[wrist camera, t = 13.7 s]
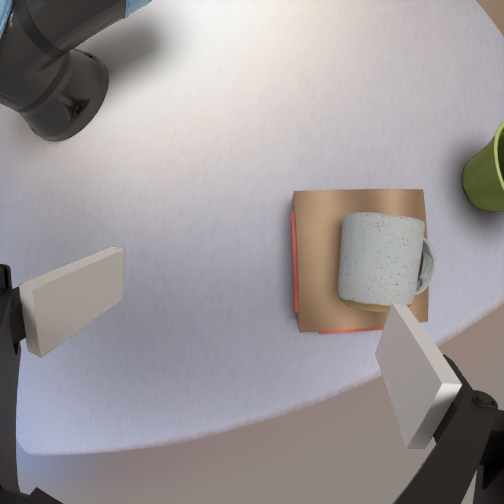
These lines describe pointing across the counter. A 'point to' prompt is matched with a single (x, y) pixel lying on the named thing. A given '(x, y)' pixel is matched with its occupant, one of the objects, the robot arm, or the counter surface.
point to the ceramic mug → (382, 261)
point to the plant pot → (487, 175)
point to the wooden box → (328, 255)
